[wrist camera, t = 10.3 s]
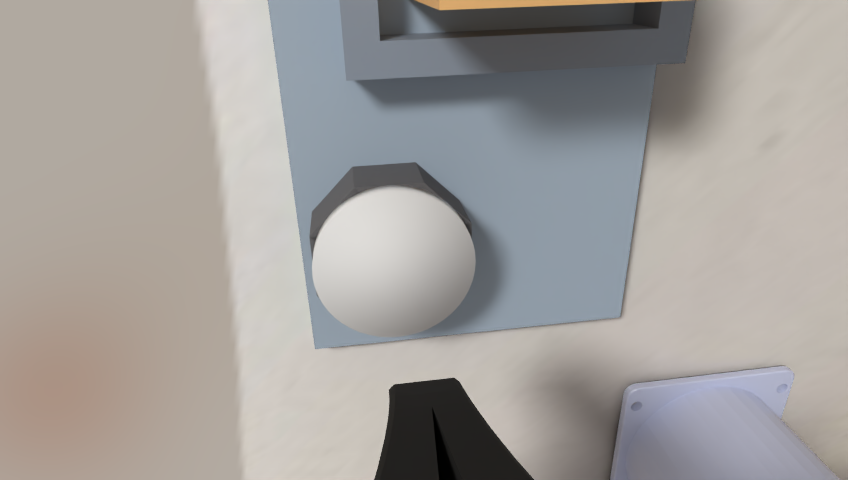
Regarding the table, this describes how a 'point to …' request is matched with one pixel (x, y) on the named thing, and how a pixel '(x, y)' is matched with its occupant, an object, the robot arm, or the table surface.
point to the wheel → (391, 250)
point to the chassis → (485, 136)
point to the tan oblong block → (516, 3)
